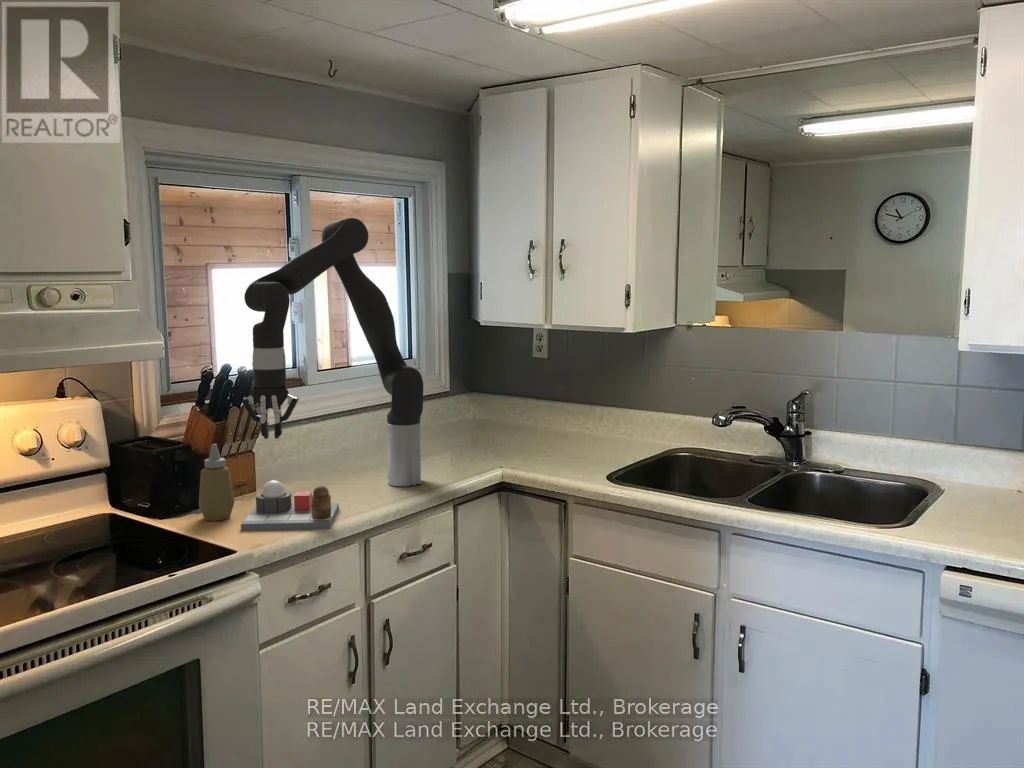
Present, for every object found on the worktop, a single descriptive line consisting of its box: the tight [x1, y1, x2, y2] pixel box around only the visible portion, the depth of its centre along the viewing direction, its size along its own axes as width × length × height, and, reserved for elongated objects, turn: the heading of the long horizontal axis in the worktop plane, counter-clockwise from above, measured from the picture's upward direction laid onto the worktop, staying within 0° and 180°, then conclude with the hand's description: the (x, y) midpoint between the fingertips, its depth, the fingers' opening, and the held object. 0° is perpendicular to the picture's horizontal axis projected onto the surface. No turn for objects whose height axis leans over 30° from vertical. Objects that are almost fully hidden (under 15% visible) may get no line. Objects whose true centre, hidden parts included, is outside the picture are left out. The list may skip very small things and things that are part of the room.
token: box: [311, 485, 332, 519], centre depth 190 cm, size 4×4×7 cm
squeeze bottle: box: [198, 443, 235, 522], centre depth 193 cm, size 8×8×18 cm
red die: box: [293, 491, 313, 510], centre depth 197 cm, size 4×4×4 cm
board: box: [240, 490, 340, 531], centre depth 193 cm, size 20×16×5 cm
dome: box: [262, 479, 285, 498], centre depth 197 cm, size 5×5×5 cm
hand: (271, 437), depth 195 cm, fingers closed
